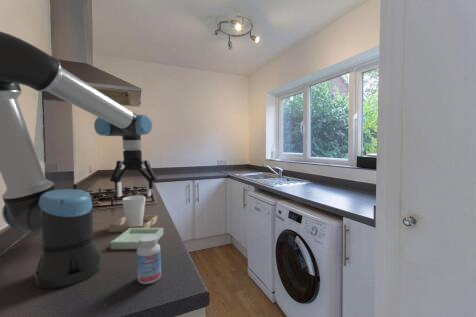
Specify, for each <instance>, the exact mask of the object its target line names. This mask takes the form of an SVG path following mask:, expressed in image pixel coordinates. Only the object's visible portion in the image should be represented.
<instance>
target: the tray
mask: <svg viewBox="0 0 476 317" xmlns="http://www.w3.org/2000/svg"><path fill="white" fill-rule="evenodd" d="M146 235H156V236H157V237H158V240H160V238H162V236H163V235H164V227H150V228H129V229H128V230H126V231H125V232H121V234H120V235H119V236H117V237H116V238H114V239H113V240H111V241H110V245H109V246H110V250H137V249H138V248H139V247H140V244H139V239H140V238H141V237H143V236H146Z"/></svg>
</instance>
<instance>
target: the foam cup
mask: <svg viewBox="0 0 476 317" xmlns="http://www.w3.org/2000/svg"><path fill="white" fill-rule="evenodd" d="M121 202H122V206H123V210H124V217H126V222H125V223H126V226H143V225H144V224H143V223H144V221H143V216H144V215H145V205H146V196H145V195H131V196H126V197H122V201H121Z"/></svg>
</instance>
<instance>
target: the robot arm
mask: <svg viewBox="0 0 476 317" xmlns="http://www.w3.org/2000/svg"><path fill="white" fill-rule="evenodd" d="M20 85H23V86H26V87H29V88H31V89H33V90H34V91H37V92H47V93H50V94H51V95H54V96H55V97H57V98H60V99H62V100H64V101H65V102H67V103H69V104H71V105H73V106H75V107H77V108H79V109H82V110H83V111H85V112H87V113H89V114H91V115H94V116H95V117H96V119H95V121H94V123H93V126H94V127H93V128H94V130H95V132H96V134H98V135H99V136H102V137H103V136H105V137H122V149H123V151H122V157H123V160H117V161H116V164H115V165H116V166H115V167H114V170H113V172H112V174H111V177H110V179H109V181H110V182H113V183H114V189H115V190H116V197H117V198H120V197H123V188H122V185H123V184H122V181H121V180H122V179H123V178H124V177H125V175H127V172H128V171H138V172H139V173H140V174H141V175H142V176H143V177H144V178H145V179H146V180H147V182H146V194H147V196H146V197H151V196H152V189H153V188H154V181H156V180H157V179H158V178H157V175H156V174H155V172H154V170H153V168H152V167H151V165H150V161H149V159H146V160H143V159H142V158H143V157H142V156H143V154H142V150H141V149H142V138H141V137H142V135H143V136H144V135H149V134H150V133H151V131H152V129H153V121H152V119H151V118H150V117H149V116H148V115H146V114H137V113H135V112H133V111H131V110H130V109H129V108H127V107H125V106H124V105H122V104H120V103H119V102H117V101H116V100H114V99H113V98H111V97H109V96H108V95H106V94H105V93H102V91H99V90H98V89H97V88H95V87H94V86H92V85H90V84H89V83H87V82H86V81H83V80H82V79H80V78H79V77H77V76H76V75H75V74H73V73H71V72H69V71H68V70H66V69H64V67H62V65H61V62H60V61H59V60H57V59H56V58H55V57H53V56H51V55H50V54H49V53H47V52H45V51H43V50H42V49H40V48H38V47H37V46H34V45H33V44H31V43H30V42H27V41H25V40H23V39H21V38H19V37H17V36H14V35H12V34H9V33H7V32H3V31H0V175H1V177H2V180H3V182H4V184H5V188H6V190H5V191H4V193H3V194H2V196H1V197H2V201H3V203H4V205H3V207H2V210H1V215H2V218H3V220H4V222H5V223H6V224H7V225H8V226H9V227H11V228H13V229H15V230H17V231H19V232H25V233H32V234H33V233H34V234H38V235H41V249H42V250H41V255H40V259H39V262H38V265H37V267H36V271H35V274H34V284H35V286H36V287H37V288H40V289H47V290H49V289H59V288H63V287H67V286H72V285H74V284H77V283H80V282H82V281H85V280H86V279H88V278H90V277H92V276H93V275H94V274H95V275H96V274H97V272H98V271H99V270H101V267H102V258H101V255H100V253H99V251H98V249H97V246H96V244H95V242H94V228H93V226H94V225H93V207H94V206H93V202H92V196H91V194H90V193H89V192H87V191H85V190H82V189H77V188H76V189H75V188H73V189H70V188H69V189H67V188H64V189H56V185H55V183H54V182H53V181H51V180H48V179H47V178H46V176H45V173H44V171H43V168H42V166H41V163H40V160H39V156H38V155H37V151H36V149H35V146H34V142H33V140H32V138H31V135H30V132H29V129H28V126H27V124H26V121H25V117H24V115H23V112H22V109H21V107H20V104H19V101H18V98H19V96H20V95H21V94H22V93H23V91H22V89H21V86H20ZM142 165H143V166H144V167H145V168H146V170H145V168H144V167H143V166H142ZM123 166H124V167H123ZM122 167H123V169H122ZM121 169H122V170H121ZM120 170H121V172H120Z"/></svg>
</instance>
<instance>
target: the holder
mask: <svg viewBox="0 0 476 317" xmlns="http://www.w3.org/2000/svg"><path fill="white" fill-rule="evenodd" d="M158 221H159V215H158V214H156V215H155V214H153V215H152V214H150V215H149V214H148V215H147V214H146V215H145V214H144V216H143V222H146V223H145V224H143V225H142V226H127V225H123V224H125V223H126V217H125V216H123V217H121V218H120V219H118V220H117V221H115V222H112V224H110V225H108V226H107V232H108V233H124V232H125V231H126V230H128V229H129V228H152V226H153V225H154V224H155V223H156V222H158Z"/></svg>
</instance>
